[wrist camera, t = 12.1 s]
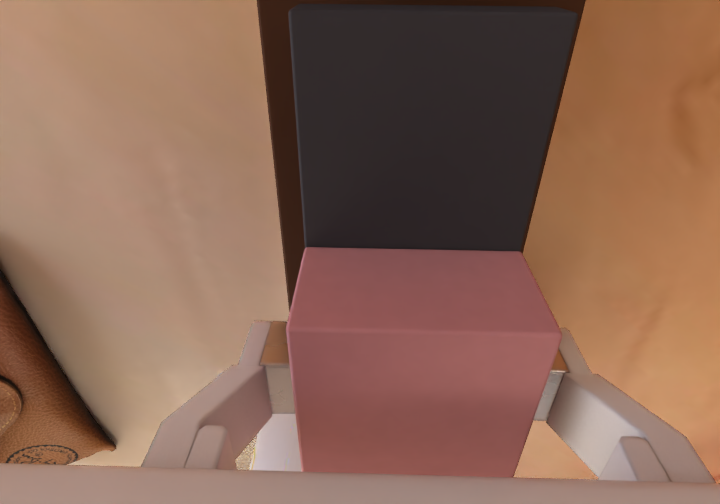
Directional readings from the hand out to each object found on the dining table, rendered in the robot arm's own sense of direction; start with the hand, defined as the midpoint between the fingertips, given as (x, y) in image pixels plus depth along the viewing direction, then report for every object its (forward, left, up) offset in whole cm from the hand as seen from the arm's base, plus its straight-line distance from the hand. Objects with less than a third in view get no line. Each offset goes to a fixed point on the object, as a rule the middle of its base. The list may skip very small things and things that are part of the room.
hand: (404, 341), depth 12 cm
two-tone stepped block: (-3, 0, -2) cm, 3 cm away
